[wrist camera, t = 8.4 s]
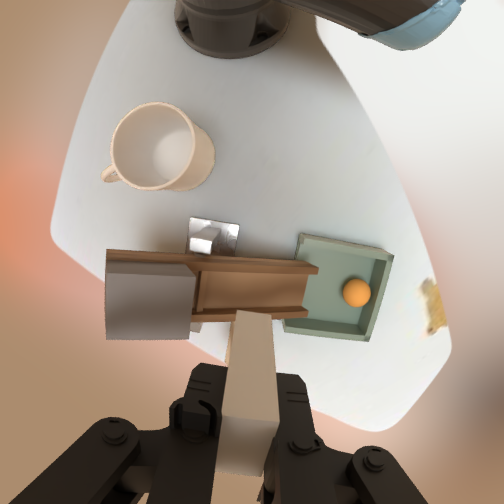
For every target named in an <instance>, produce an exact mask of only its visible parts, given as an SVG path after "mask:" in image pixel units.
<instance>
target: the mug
mask: <svg viewBox="0 0 504 504" xmlns="http://www.w3.org/2000/svg"><path fill="white" fill-rule="evenodd" d="M110 154H111V160H112V164H111V165H110V166H108V167H107V168H106V169H105V170H104V171H103V172H102V173H101V179H102V180H103V181H104V182H107V183H109V182H116V181H120V180H123V181H124V182H125V183H127V184H128V185H130V186H132V187H134V188H136V189H140V190H147V191H152V190H173V191H187V190H191V189H193V188H195V187H197V186H199V185H200V184H202V183H203V182H204V181H205V180H206V179H207V178H208V176H209V175H210V173H211V171H212V169H213V166H214V163H215V148H214V145H213V142H212V140H211V138H210V137H209V136H208V134H207V133H206V132H205V131H204V130H202V129H201V128H199V127H197V126H196V125H195V124H194V122H193V121H192V120H191V119H190V118H189V117H188V116H187V115H186V114H185V113H184V112H183V111H182V110H180V109H179V108H177V107H176V106H174V105H171V104H168V103H164V102H150V103H145V104H142V105H140V106H138V107H136V108H134V109H132V110H131V111H130V112H128V113H127V114H126V115H125V116H124V117H123V118H122V120H121V121H120V122H119V124H118V125H117V127H116V129H115V131H114V133H113V136H112V140H111V147H110ZM114 172H116V173H117V174H116V175H111V174H112V173H114Z"/></svg>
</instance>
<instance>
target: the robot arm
mask: <svg viewBox="0 0 504 504" xmlns="http://www.w3.org/2000/svg"><path fill="white" fill-rule="evenodd" d="M465 1H466V0H176V5H175V12H174V16H175V23H176V26H177V28H178V30H179V32H180V34H181V36H182V38H183V39H184V41H185V42H186V43H187V44H188V45H189V46H190V47H192V48H193V49H195V50H196V51H198V52H200V53H202V54H205V55H208V56H212V57H216V58H225V59H234V58H243V57H248V56H252V55H255V54H258V53H260V52H262V51H264V50H266V49H268V48H269V47H271V46H272V45H274V44H275V43H276V42H277V41H278V40H279V39H280V38H281V37H282V36H283V34H284V33H285V31H286V29H287V27H288V23H289V19H290V14H291V7H294V8H297V9H300V10H303V11H306V12H309V13H311V14H314V15H317V16H319V17H322V18H325V19H327V20H330V21H332V22H334V23H337V24H339V25H342V26H344V27H346V28H348V29H351V30H353V31H355V32H357V33H358V34H359V35H360V36H362V37H364V38H370V39H373V40H376V41H378V42H380V43H382V44H384V45H387V46H388V47H391V48H393V49H396V50H401V51H404V50H415V49H418V48H420V47H422V46H425V45H427V44H428V43H430V42H431V41H433V40H434V39H436V38H437V37H438V36H439V35H440V34H442V33H443V32H444V31H445V30H446V29H447V28H448V27H449V26H450V25H451V24H452V22H453V21H454V20H455V18H456V17H457V16H458V14H459V13H460V11H461V7H460V5H462V4H463V3H464V2H465ZM263 470H264V482H263V484H262V487H261V490H260V492H259V495H258V498H257V501H259V502H260V500H261V504H428V503H427V501H426V500H425V499H424V498H423V496H422V495H421V493H420V492H419V491H418V489H417V488H416V486H415V485H414V484H413V482H412V481H411V480H410V478H409V477H408V476H407V474H406V473H405V472H404V470H403V469H402V468H401V466H400V465H399V463H398V462H397V461H396V459H395V458H394V457H393V455H392V454H390V453H389V452H388V451H387V450H385V449H383V448H381V447H377V446H365V447H362V448H360V449H358V450H357V451H356V452H355V453H354V454H350V453H345V452H341V451H337V450H334V449H331V448H329V447H327V446H326V445H325V444H324V442H323V440H322V439H321V438H320V437H319V436H318V435H317V434H316V433H315V428H314V424H313V418H312V414H311V408H310V403H309V398H308V395H307V389H306V384H305V382H304V381H303V380H302V379H301V378H300V376H299V375H295V374H285V373H276V367H275V355H274V343H273V331H272V319H271V315H269V314H262V313H255V312H248V311H242V310H237V313H236V320H235V326H234V333H233V339H232V346H231V352H230V359H229V365H228V367H224V366H218V365H211V364H206V363H200V364H198V365H197V366H196V367H195V368H194V369H193V370H192V372H191V376H190V379H189V382H188V385H187V389H186V391H185V394H184V397H182V398H179V399H177V400H176V401H174V402H173V403H172V405H171V406H170V408H169V426H168V427H166V428H163V429H160V430H152V431H151V430H150V431H149V430H145V431H143V430H137V428H136V427H135V425H133V424H132V423H131V422H129V421H128V420H125V419H122V418H119V417H118V418H117V417H108V418H104V419H101V420H99V421H97V422H96V423H94V424H93V425H92V426H91V427H90V428H89V429H88V430H87V431H86V432H85V433H84V434H83V435H82V436H81V437H80V438H79V439H77V441H75V442H74V443H73V444H72V445H71V446H70V447H69V448H68V449H67V450H66V451H65V452H64V453H63V454H62V455H61V456H59V457H58V458H57V459H56V460H55V461H54V462H53V463H52V464H51V465H50V466H49V467H48V468H47V469H46V470H44V471H43V472H42V473H41V474H40V475H39V476H38V477H37V478H36V479H35V480H34V481H33V482H32V483H30V485H28V486H27V487H26V488H25V489H24V490H23V491H22V492H21V493H20V494H18V495H17V496H16V497H15V498H14V499H13V500H12V501H11V502H10V503H9V504H137V503H138V501H139V500H140V499H141V497H142V496H143V494H144V493H149V496H148V499H147V502H146V504H210V503H211V496H212V488H213V480H214V473H215V472H222V473H230V474H238V475H247V476H259V477H261V476H262V473H263Z"/></svg>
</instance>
